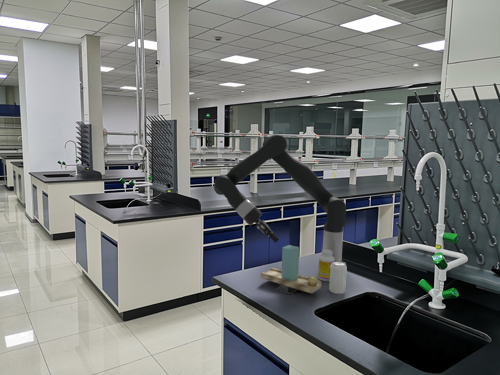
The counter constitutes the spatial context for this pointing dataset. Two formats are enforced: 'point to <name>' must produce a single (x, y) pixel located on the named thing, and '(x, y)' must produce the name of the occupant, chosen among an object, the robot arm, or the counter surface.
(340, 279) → the can
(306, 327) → the counter surface
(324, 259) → the supplement bottle
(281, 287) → the fulcrum
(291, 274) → the block
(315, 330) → the counter surface
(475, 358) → the counter surface
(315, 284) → the counterweight
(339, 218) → the robot arm
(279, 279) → the beam
